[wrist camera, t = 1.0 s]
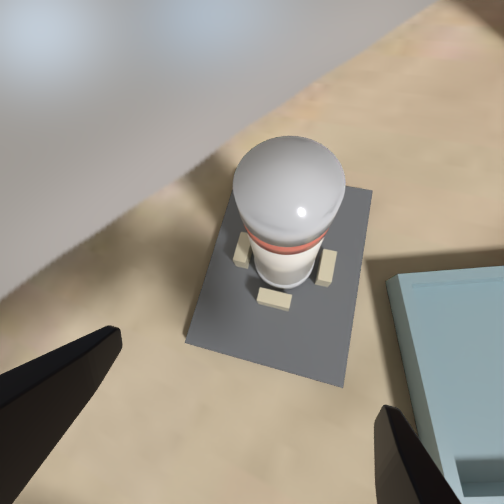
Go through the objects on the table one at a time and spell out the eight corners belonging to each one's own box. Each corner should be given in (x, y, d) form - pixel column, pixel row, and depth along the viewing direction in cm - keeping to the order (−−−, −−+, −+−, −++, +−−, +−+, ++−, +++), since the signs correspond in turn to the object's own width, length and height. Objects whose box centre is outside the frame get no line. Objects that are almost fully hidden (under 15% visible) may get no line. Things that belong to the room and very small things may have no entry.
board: (340, 386, 21) (348, 392, 18) (188, 343, 23) (176, 342, 20) (369, 196, 25) (379, 178, 22) (240, 174, 27) (236, 155, 24)
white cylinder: (316, 288, 22) (354, 228, 11) (257, 292, 22) (235, 238, 11) (308, 233, 23) (336, 130, 12) (254, 238, 24) (230, 142, 12)
